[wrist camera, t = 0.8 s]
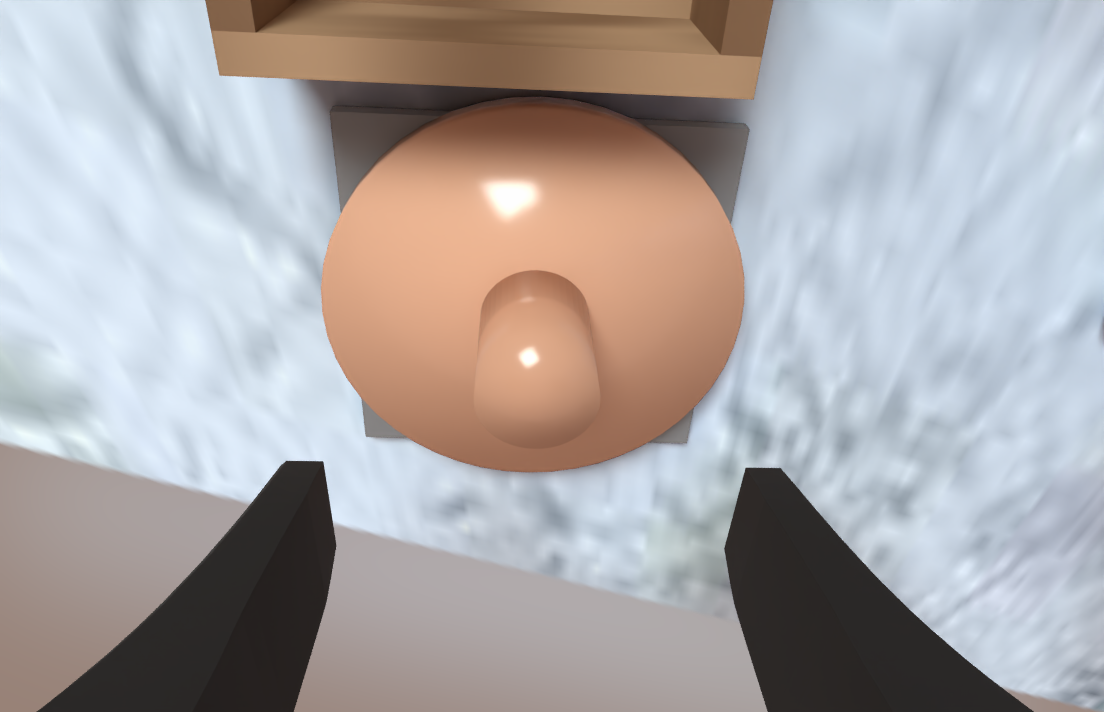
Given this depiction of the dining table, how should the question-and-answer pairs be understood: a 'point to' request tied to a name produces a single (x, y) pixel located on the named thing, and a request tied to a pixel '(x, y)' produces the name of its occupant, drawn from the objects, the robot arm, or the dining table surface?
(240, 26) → the wooden open tray
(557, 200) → the lid
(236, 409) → the dining table surface
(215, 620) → the robot arm
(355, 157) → the mat
